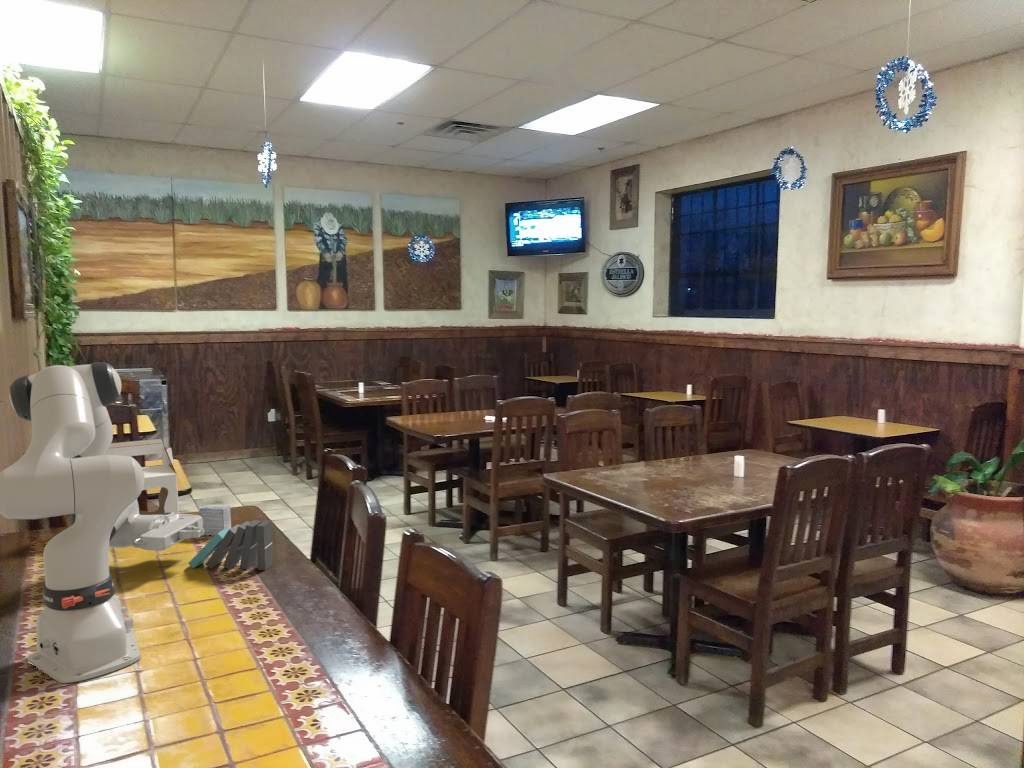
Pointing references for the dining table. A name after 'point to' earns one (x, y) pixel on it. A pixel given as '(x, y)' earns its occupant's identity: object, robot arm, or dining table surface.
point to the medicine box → (215, 518)
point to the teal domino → (208, 549)
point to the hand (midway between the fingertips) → (201, 532)
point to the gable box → (153, 471)
